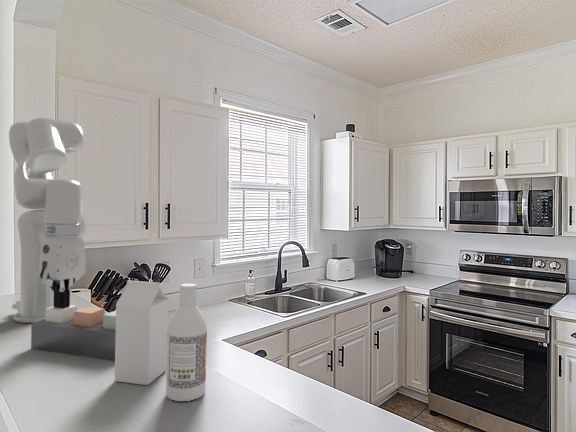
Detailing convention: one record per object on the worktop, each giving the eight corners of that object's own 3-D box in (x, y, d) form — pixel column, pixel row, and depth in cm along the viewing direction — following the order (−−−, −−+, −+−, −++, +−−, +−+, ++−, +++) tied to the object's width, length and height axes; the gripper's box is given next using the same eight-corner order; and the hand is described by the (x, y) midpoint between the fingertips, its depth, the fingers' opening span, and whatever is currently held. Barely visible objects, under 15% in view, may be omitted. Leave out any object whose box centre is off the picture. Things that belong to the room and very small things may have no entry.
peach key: (73, 337, 93) (74, 311, 92) (87, 331, 97) (88, 306, 97) (90, 339, 91) (90, 313, 91) (104, 333, 96) (104, 308, 96)
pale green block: (102, 341, 91) (103, 314, 90) (116, 335, 95) (116, 310, 95) (120, 343, 89) (120, 316, 89) (133, 337, 94) (133, 311, 94)
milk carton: (147, 386, 75) (149, 286, 75) (114, 381, 77) (116, 283, 76) (166, 371, 82) (168, 279, 82) (135, 367, 84) (137, 277, 83)
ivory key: (45, 333, 95) (45, 308, 94) (60, 328, 99) (61, 304, 99) (61, 335, 93) (61, 310, 93) (76, 330, 98) (76, 305, 98)
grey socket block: (31, 349, 92) (31, 323, 92) (65, 335, 102) (65, 312, 102) (116, 361, 87) (117, 333, 87) (144, 346, 96) (144, 321, 96)
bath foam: (209, 399, 71) (212, 287, 71) (169, 406, 68) (172, 289, 68) (200, 383, 77) (202, 280, 77) (163, 389, 74) (165, 282, 74)
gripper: (50, 233, 88) (48, 316, 88) (98, 230, 102) (96, 301, 102) (22, 232, 89) (21, 313, 90) (73, 229, 104) (72, 299, 104)
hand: (61, 307), depth 96 cm, fingers closed
